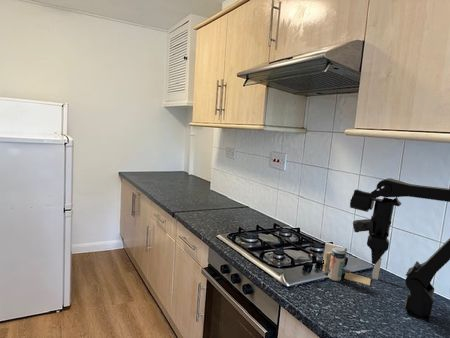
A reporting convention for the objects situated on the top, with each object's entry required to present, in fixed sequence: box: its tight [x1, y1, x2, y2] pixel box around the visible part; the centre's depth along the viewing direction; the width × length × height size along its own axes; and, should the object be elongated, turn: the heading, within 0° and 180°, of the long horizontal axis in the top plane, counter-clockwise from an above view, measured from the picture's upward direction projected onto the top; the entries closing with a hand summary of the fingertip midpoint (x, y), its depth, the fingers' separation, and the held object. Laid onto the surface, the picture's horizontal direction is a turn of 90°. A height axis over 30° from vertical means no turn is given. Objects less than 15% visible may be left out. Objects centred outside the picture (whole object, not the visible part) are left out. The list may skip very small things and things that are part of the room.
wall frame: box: [322, 242, 383, 281], centre depth 126 cm, size 21×2×9 cm, turn 63°
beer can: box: [327, 247, 347, 282], centre depth 118 cm, size 5×5×12 cm
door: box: [322, 252, 332, 273], centre depth 123 cm, size 10×2×8 cm, turn 119°
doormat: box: [344, 272, 372, 287], centre depth 120 cm, size 9×6×1 cm, turn 63°
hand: (373, 258), depth 108 cm, fingers open, 9 cm apart
